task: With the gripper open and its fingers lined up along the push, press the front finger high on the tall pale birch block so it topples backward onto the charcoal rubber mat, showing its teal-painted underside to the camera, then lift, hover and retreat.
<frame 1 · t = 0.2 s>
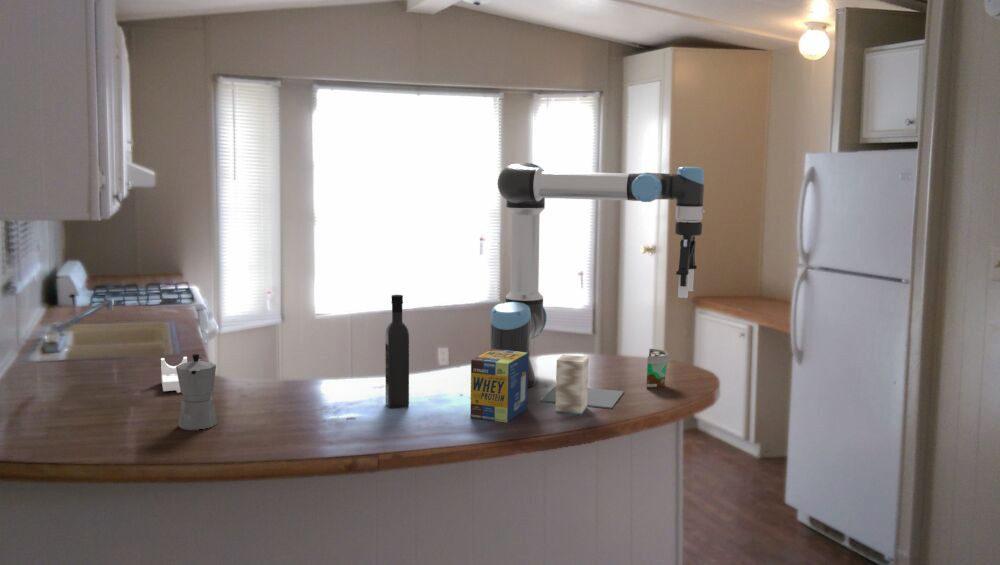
hand: (685, 294, 268), 28 cm above the counter, fingers open, 13 cm apart
food container: (657, 386, 274), on the counter
protein box: (499, 413, 243), on the counter
coffeepot: (198, 424, 229), on the counter
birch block: (571, 409, 247), on the counter
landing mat: (582, 397, 260), on the counter
wine bottle: (397, 406, 249), on the counter
bracket: (175, 388, 264), on the counter
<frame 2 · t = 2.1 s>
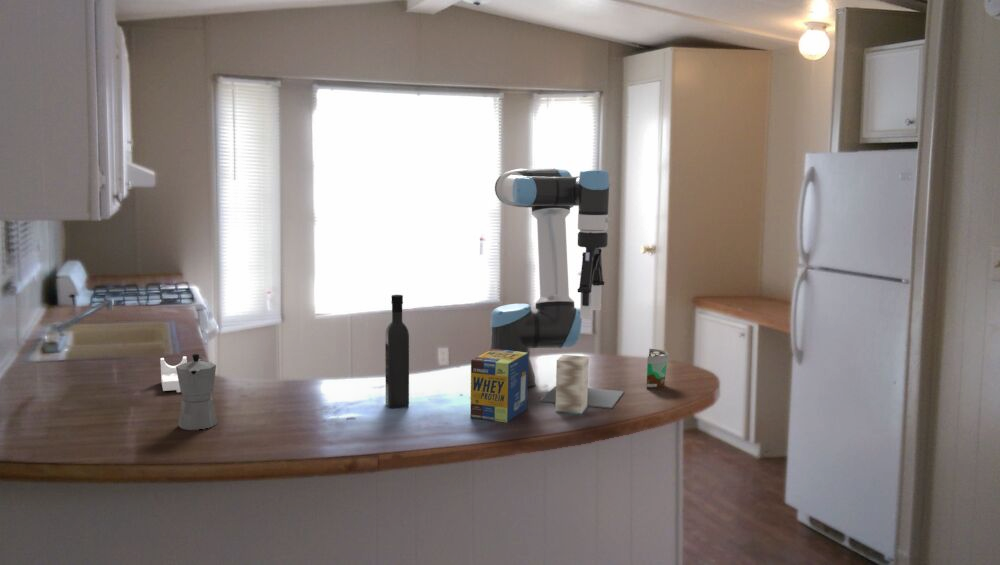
hand: (590, 314, 236), 27 cm above the counter, fingers open, 13 cm apart
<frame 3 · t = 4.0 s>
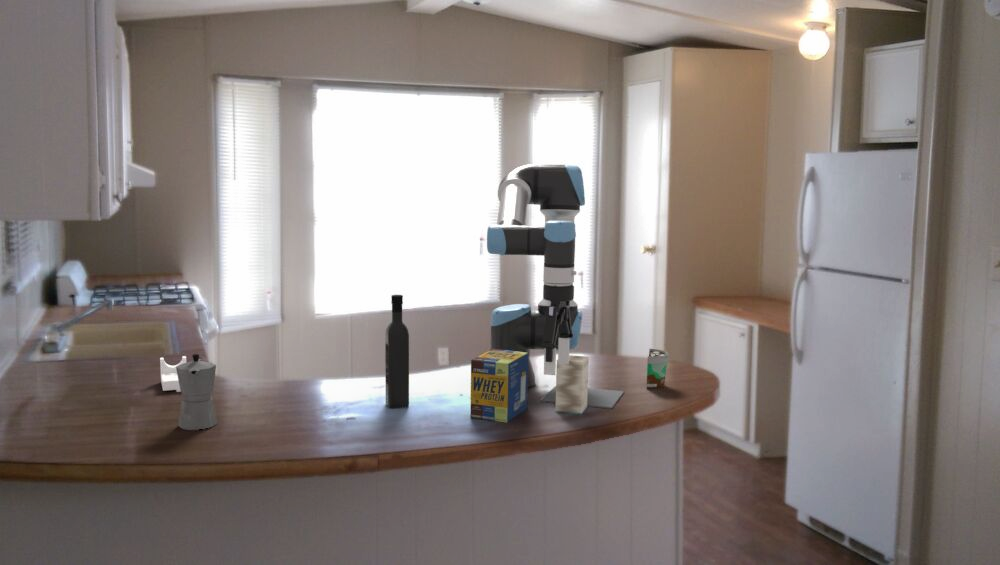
hand: (556, 369, 229), 15 cm above the counter, fingers open, 13 cm apart
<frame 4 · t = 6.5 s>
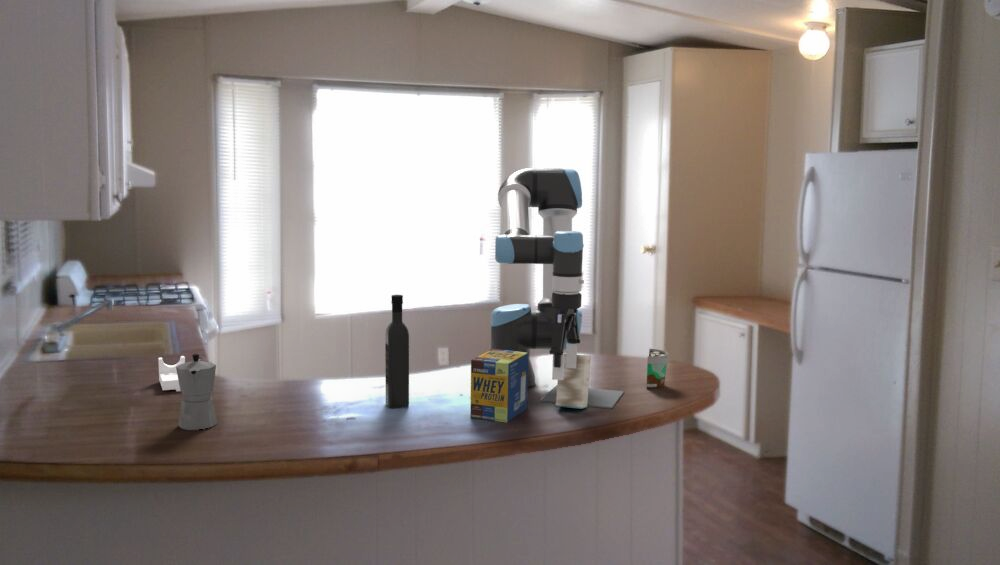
hand: (564, 373, 238), 12 cm above the counter, fingers open, 13 cm apart
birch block: (571, 406, 247), point 1 cm above the counter, tilted 12°, touching gripper
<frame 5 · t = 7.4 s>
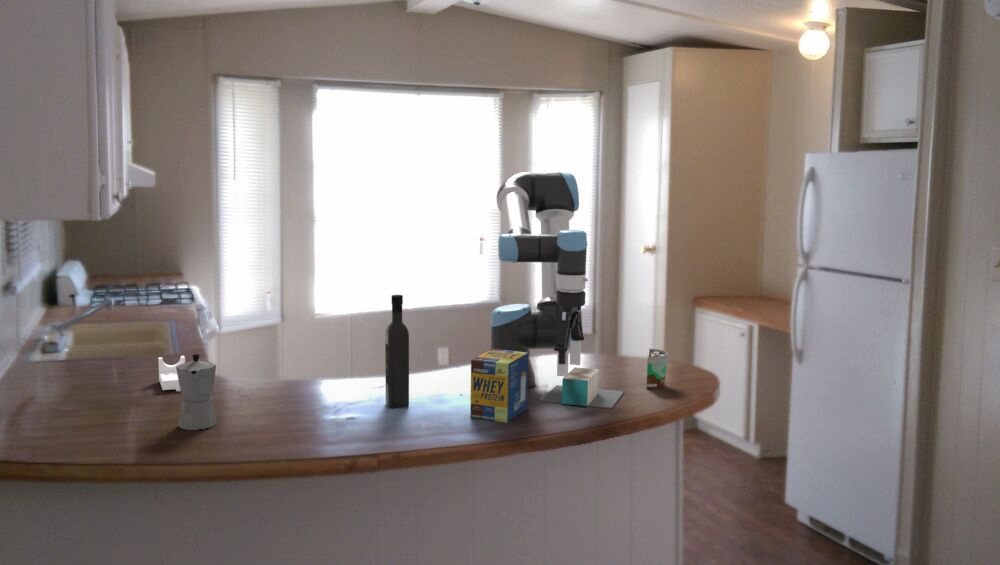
hand: (568, 370, 242), 12 cm above the counter, fingers open, 13 cm apart
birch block: (574, 392, 250), point 4 cm above the counter, tilted 90°, touching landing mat
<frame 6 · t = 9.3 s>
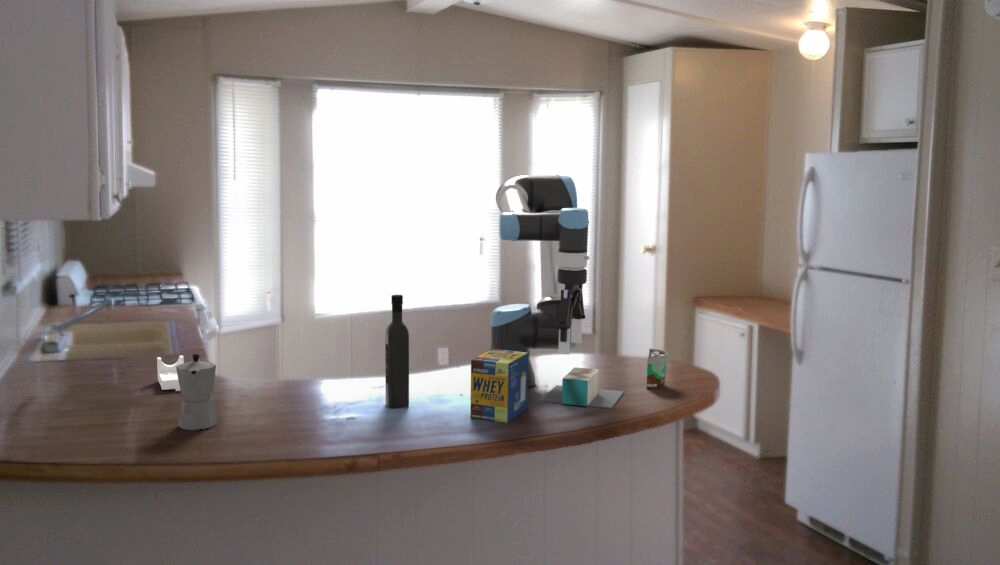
hand: (570, 348, 242), 17 cm above the counter, fingers open, 13 cm apart
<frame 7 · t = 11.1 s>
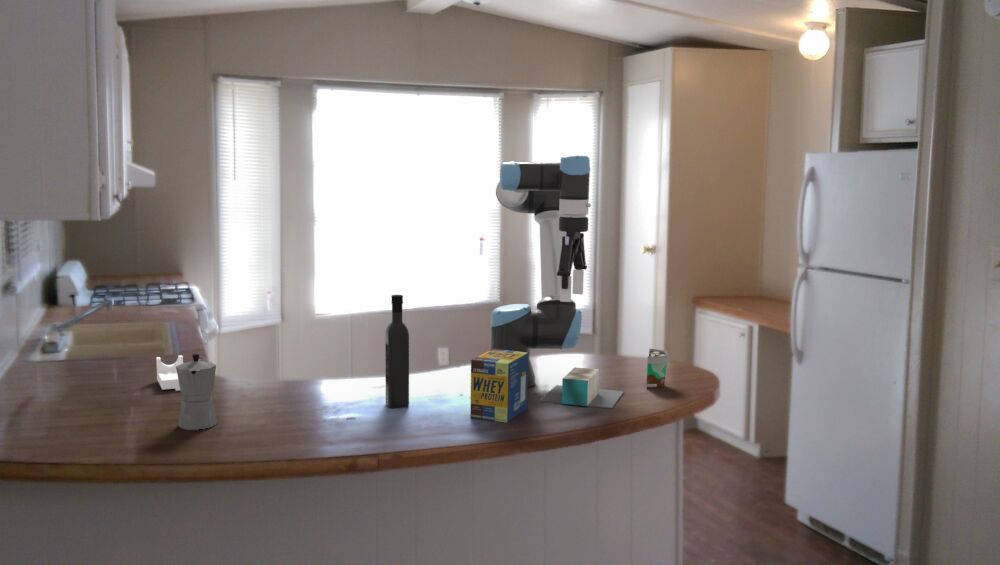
hand: (571, 297, 240), 31 cm above the counter, fingers open, 13 cm apart
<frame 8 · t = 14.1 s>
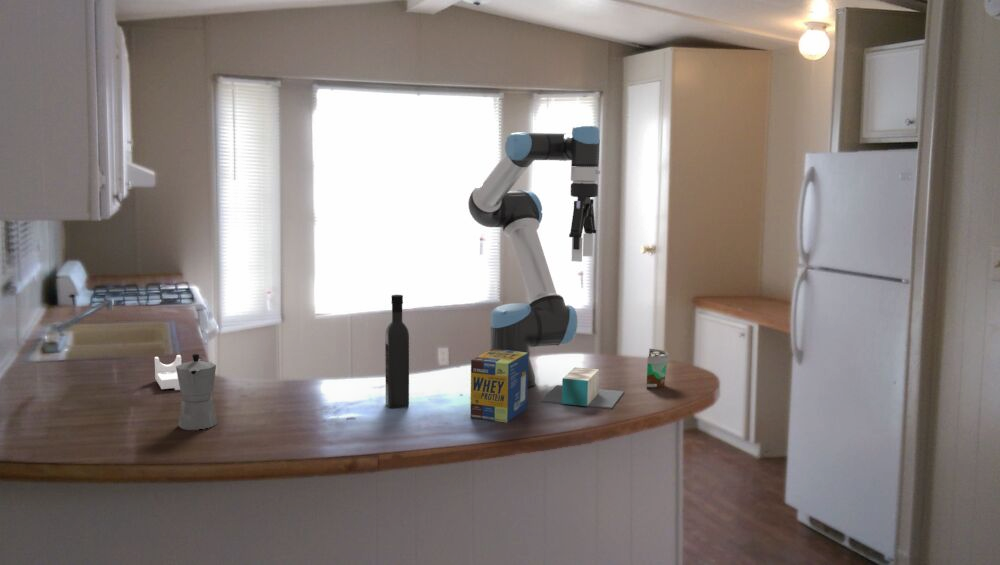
hand: (582, 258, 258), 39 cm above the counter, fingers open, 13 cm apart
at the end: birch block tilted 90°; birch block inside the target area (0.6 cm from its centre), point 3.9 cm above the counter; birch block touching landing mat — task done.
